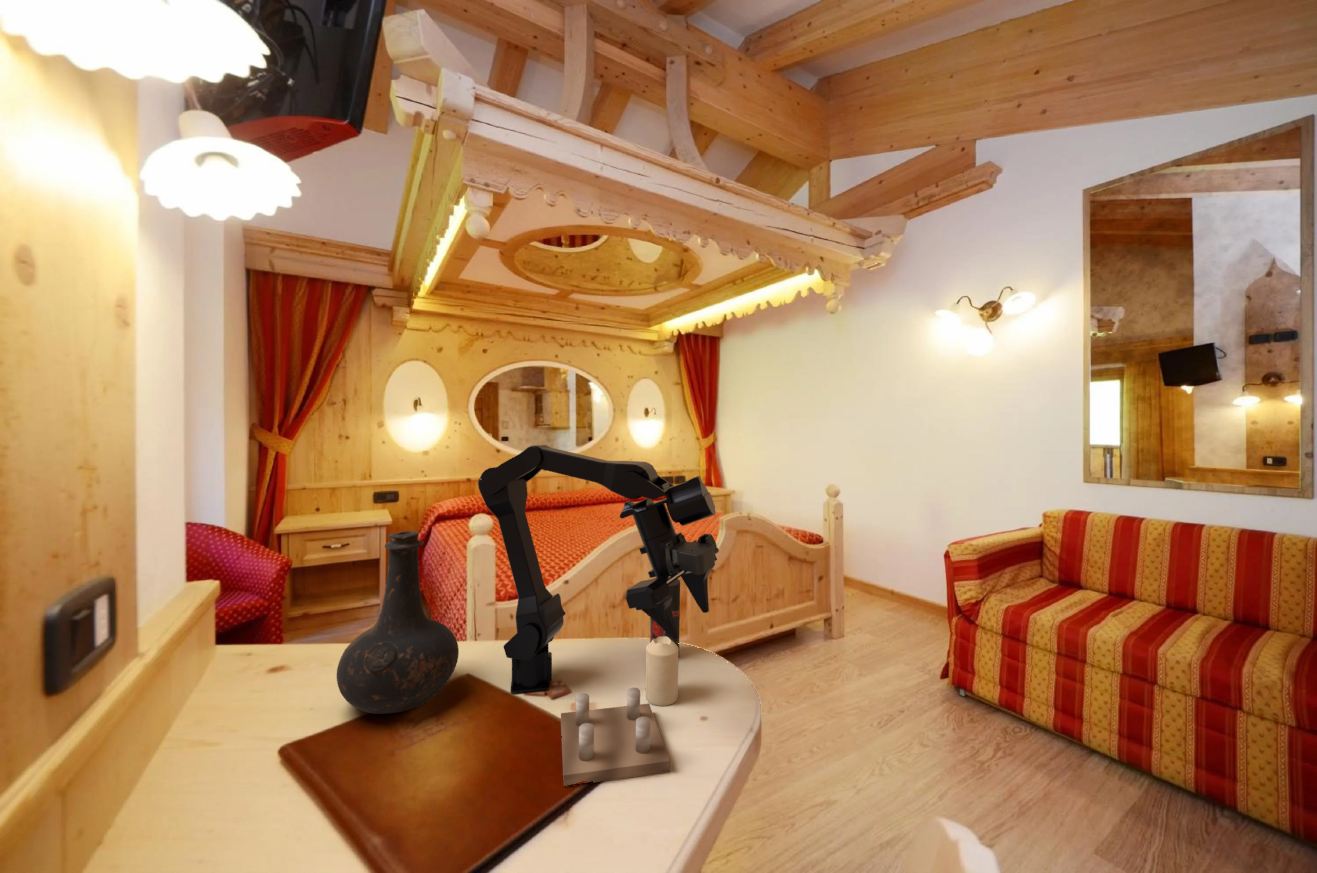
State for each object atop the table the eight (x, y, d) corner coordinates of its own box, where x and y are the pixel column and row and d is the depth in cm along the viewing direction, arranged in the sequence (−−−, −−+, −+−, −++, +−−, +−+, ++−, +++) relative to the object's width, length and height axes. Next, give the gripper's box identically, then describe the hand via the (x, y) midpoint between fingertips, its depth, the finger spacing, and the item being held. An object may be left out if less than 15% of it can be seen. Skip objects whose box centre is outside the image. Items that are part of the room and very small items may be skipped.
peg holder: (563, 786, 65) (564, 744, 64) (560, 722, 78) (561, 687, 78) (669, 771, 68) (670, 731, 67) (649, 712, 81) (649, 679, 81)
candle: (674, 708, 83) (675, 648, 82) (642, 704, 84) (642, 644, 83) (680, 690, 88) (680, 634, 88) (649, 687, 89) (650, 631, 89)
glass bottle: (311, 731, 75) (310, 545, 74) (375, 672, 93) (375, 521, 92) (432, 731, 76) (432, 546, 75) (472, 672, 94) (473, 522, 93)
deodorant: (684, 659, 100) (685, 584, 99) (656, 664, 97) (657, 587, 97) (671, 646, 105) (672, 575, 105) (645, 651, 103) (646, 578, 102)
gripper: (660, 544, 71) (700, 650, 70) (724, 507, 86) (758, 594, 85) (608, 558, 78) (643, 655, 77) (675, 521, 93) (706, 602, 92)
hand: (691, 624), depth 82 cm, fingers open, 9 cm apart
